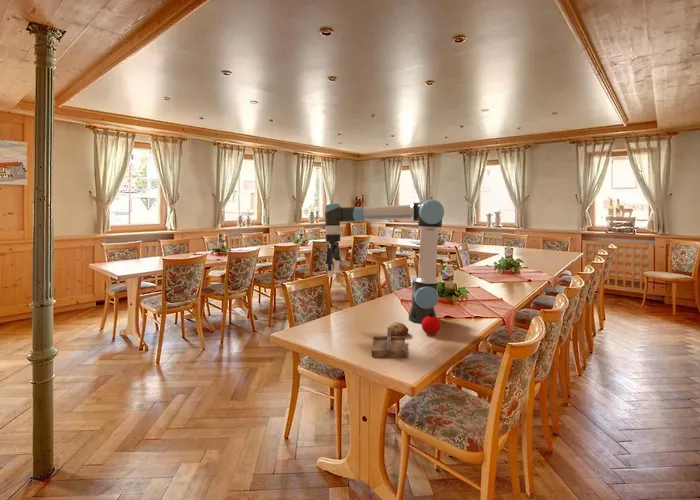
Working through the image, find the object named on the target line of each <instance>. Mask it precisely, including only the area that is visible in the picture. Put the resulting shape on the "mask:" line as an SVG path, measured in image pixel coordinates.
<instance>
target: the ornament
mask: <svg viewBox="0 0 700 500" xmlns="http://www.w3.org/2000/svg"><path fill="white" fill-rule="evenodd" d="M441 325H442V324H441V321H440V319H439V318H438V317H437V318H436V317H435V316H433V314H429V316H427V317H425V318H424V319H423V321H422V323H421V329H422V331H423V332H424V333H425V334H427V335H429V336H431V335H432V336H433V335H436V334H438V333H439V331H441Z"/></svg>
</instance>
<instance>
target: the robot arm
mask: <svg viewBox="0 0 700 500" xmlns="http://www.w3.org/2000/svg"><path fill="white" fill-rule="evenodd" d="M324 208H325V210H324V216H325V218H324V220H325V221H324V222H325V223H324V225H325V227H324V230H325V242H327V243H328V242H329V243H328V244H327V247H326V248H327V249H326V259H325V265H326V268H327V269H326V270H327V278H333V277H334V274H340V273H341V271H340V269H341V268H340V261H341V260H342V258H341V253H340V245H339V242H341V223H362V222H367V221H368V222H369V221H397V220H399V221H401V220H411V221H412V222H417V227H418V228H419V229H420V236H419V237H420V238H419V255H418V257H419V258H418V273H417V277H413V278H412V279H411V307H410V310H409V313H408V320H409V321H410V322H412V323H417V324H422V321H423V319H424V318H425V317H427V316H429V314H433V316H435V317H436V318H438V316H437V312H436V310H435V306H436V305H437V304H438V302H439V298H440V297H439V292H438V290H439V281H438V280H437V278H436V276H437V275H436V274H437V256H438V246H439V245H438V241H439V231H440V230H441V229H442V227H443V219H444V215H445V209H444V205H442V203H441V202H440V201H439V200H436V199H426V200H423V201H420V202H411V204H406V205H405V204H402V205H379V206H346V207H345V206H344V207H342V206H341V204H340V203H338V202H337V203H335V202H334V203H332V202H331V203H326V204H325V206H324Z"/></svg>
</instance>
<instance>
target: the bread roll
mask: <svg viewBox="0 0 700 500" xmlns="http://www.w3.org/2000/svg"><path fill="white" fill-rule="evenodd" d="M388 327H391V336H393V337H405V338H406V337H407V336H408V335H409V328H408V327H407V326H406V325H405V324H404V323H402V322H398V321H395V322H392V323H390V325H389V326H388Z"/></svg>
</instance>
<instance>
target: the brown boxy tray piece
mask: <svg viewBox="0 0 700 500" xmlns="http://www.w3.org/2000/svg"><path fill="white" fill-rule="evenodd" d="M386 328H387V331H386V336H385V335H374V336H373V341H372V348H371V357H375V358H377V357H379V358H407V349H406V348H407V346H406V340H405V339H406V337H393V336H391V327H389V326H387V327H386Z"/></svg>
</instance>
